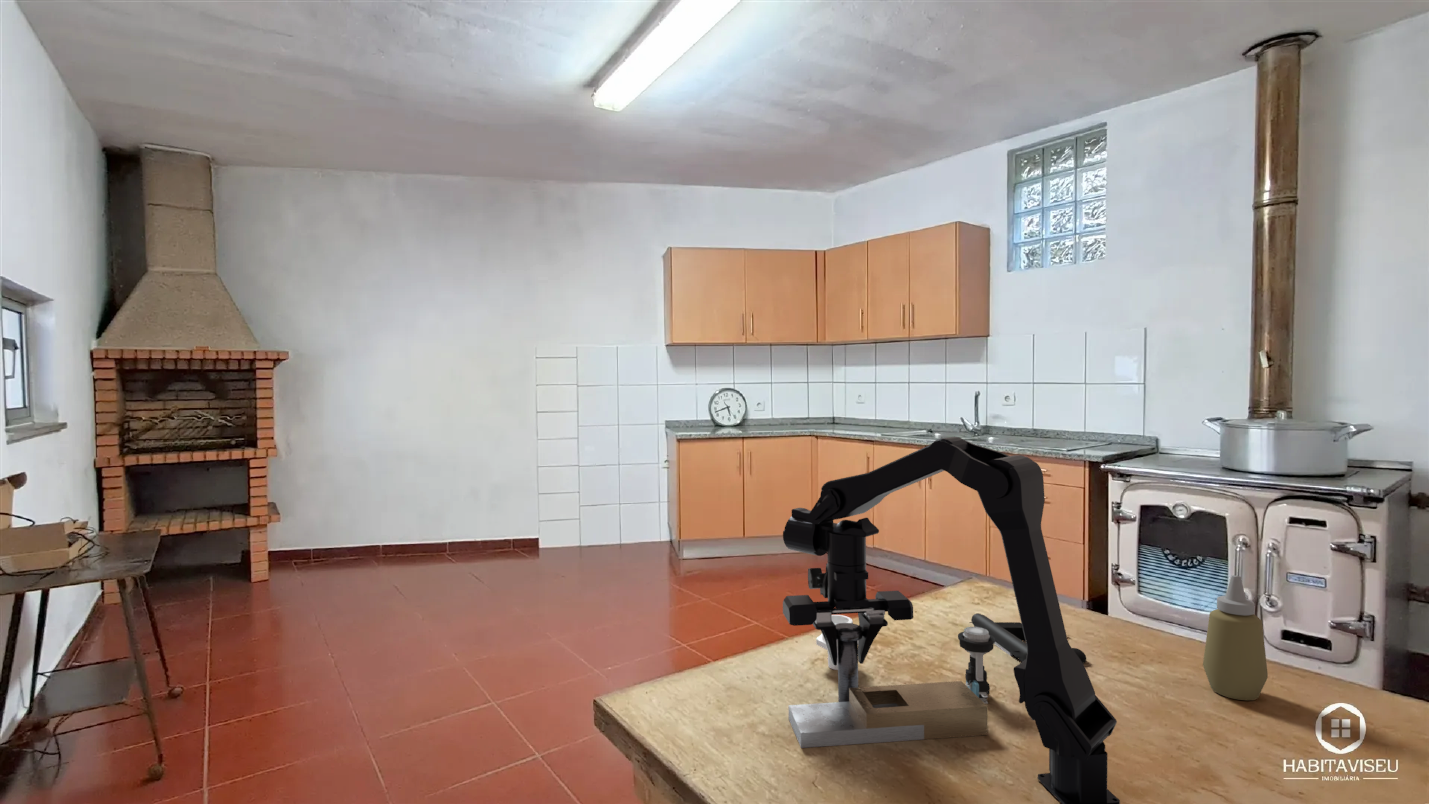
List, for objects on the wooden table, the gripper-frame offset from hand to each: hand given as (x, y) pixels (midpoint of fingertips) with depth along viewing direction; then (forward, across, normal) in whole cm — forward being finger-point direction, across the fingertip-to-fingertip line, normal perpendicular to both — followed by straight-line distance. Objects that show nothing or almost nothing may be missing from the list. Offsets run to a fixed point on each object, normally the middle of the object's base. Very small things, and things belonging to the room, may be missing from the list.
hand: (847, 663), depth 107 cm
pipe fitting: (+6, -2, -13) cm, 14 cm away
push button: (+6, -20, +1) cm, 21 cm away
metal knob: (+6, 0, 0) cm, 6 cm away
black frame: (+7, -40, -18) cm, 44 cm away
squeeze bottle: (+6, -59, +5) cm, 60 cm away
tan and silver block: (+6, -3, +8) cm, 10 cm away
